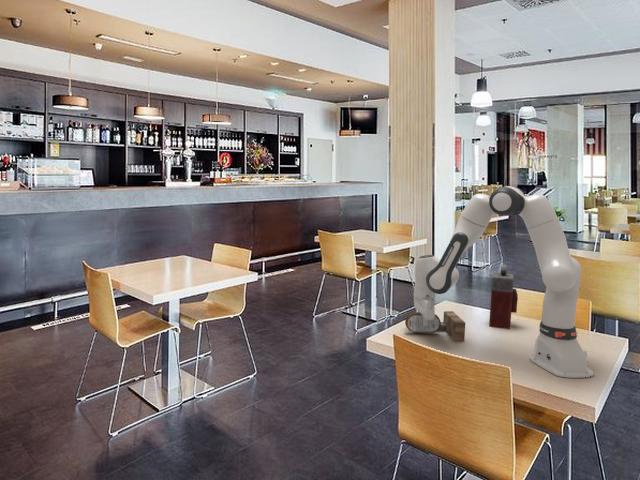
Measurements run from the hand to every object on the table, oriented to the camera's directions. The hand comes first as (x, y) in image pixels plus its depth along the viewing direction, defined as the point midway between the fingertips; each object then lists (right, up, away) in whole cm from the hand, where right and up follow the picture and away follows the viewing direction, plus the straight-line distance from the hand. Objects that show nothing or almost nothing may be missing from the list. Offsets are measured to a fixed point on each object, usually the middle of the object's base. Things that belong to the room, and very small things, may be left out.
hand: (423, 323), depth 209 cm
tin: (0, -4, 0) cm, 4 cm away
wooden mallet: (+5, -5, 0) cm, 7 cm away
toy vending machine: (+39, -3, +13) cm, 42 cm away
